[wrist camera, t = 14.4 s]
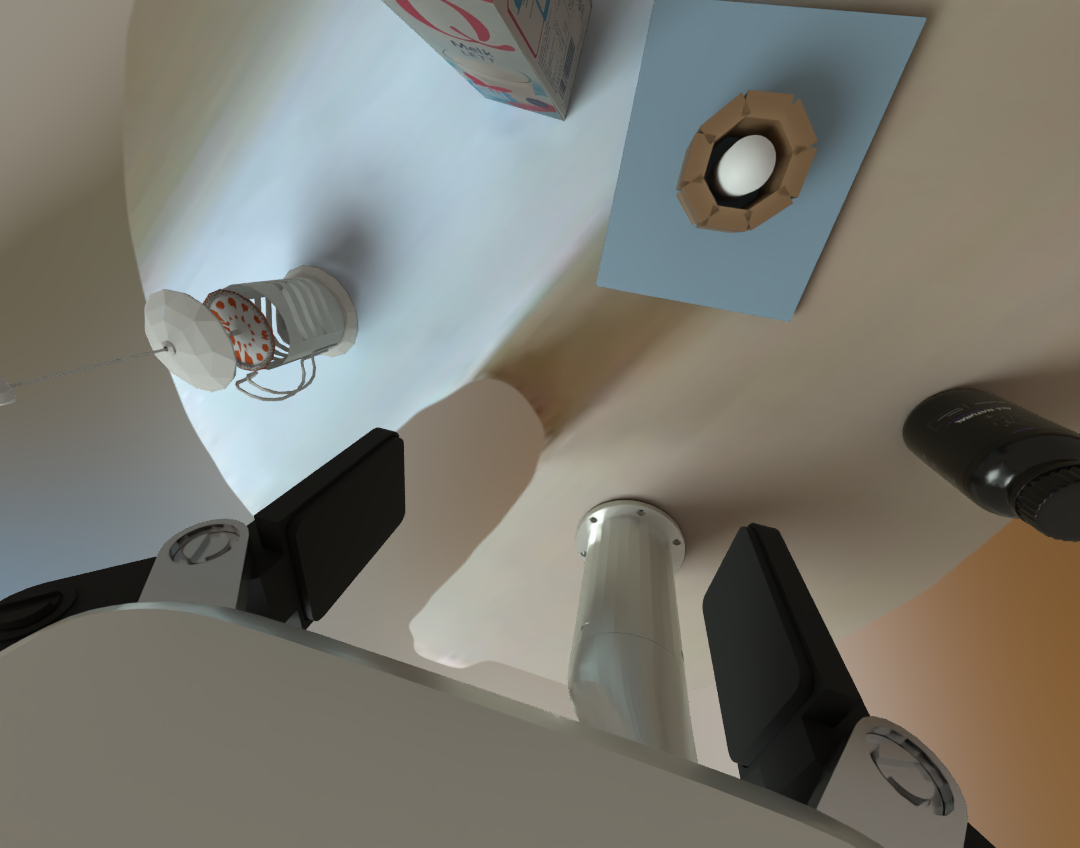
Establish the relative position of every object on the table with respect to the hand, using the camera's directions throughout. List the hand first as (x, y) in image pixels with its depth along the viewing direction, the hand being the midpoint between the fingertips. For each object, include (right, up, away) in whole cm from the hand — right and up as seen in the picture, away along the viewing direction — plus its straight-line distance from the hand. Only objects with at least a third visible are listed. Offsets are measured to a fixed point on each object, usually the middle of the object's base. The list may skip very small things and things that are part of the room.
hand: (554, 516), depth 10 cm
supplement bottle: (+35, +3, +23) cm, 41 cm away
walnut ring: (+13, +21, +17) cm, 30 cm away
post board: (+14, +21, +19) cm, 31 cm away
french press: (-24, +14, +32) cm, 43 cm away
